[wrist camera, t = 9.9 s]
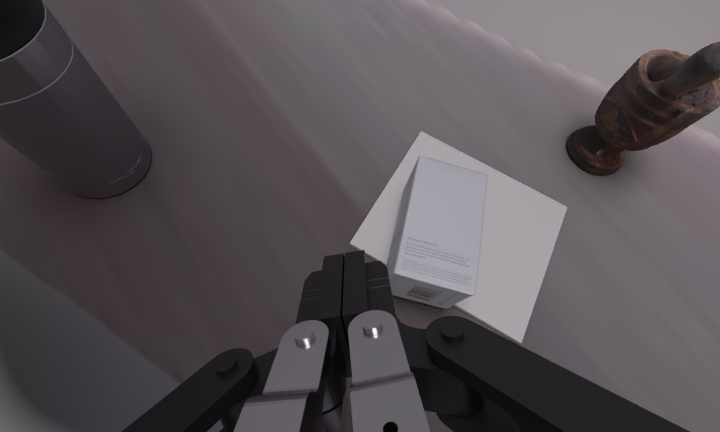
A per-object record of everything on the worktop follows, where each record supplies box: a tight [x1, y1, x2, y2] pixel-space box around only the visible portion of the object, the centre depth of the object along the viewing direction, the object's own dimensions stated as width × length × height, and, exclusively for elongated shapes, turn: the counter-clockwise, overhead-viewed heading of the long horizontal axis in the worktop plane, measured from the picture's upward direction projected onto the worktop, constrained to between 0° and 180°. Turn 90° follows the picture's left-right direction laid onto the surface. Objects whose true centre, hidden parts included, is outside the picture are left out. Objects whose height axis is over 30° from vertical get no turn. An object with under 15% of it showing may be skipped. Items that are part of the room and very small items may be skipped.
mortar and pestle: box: [567, 42, 720, 175], centre depth 38 cm, size 12×9×20 cm
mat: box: [350, 131, 567, 344], centre depth 40 cm, size 20×18×1 cm
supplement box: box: [386, 156, 488, 309], centre depth 35 cm, size 7×7×13 cm
